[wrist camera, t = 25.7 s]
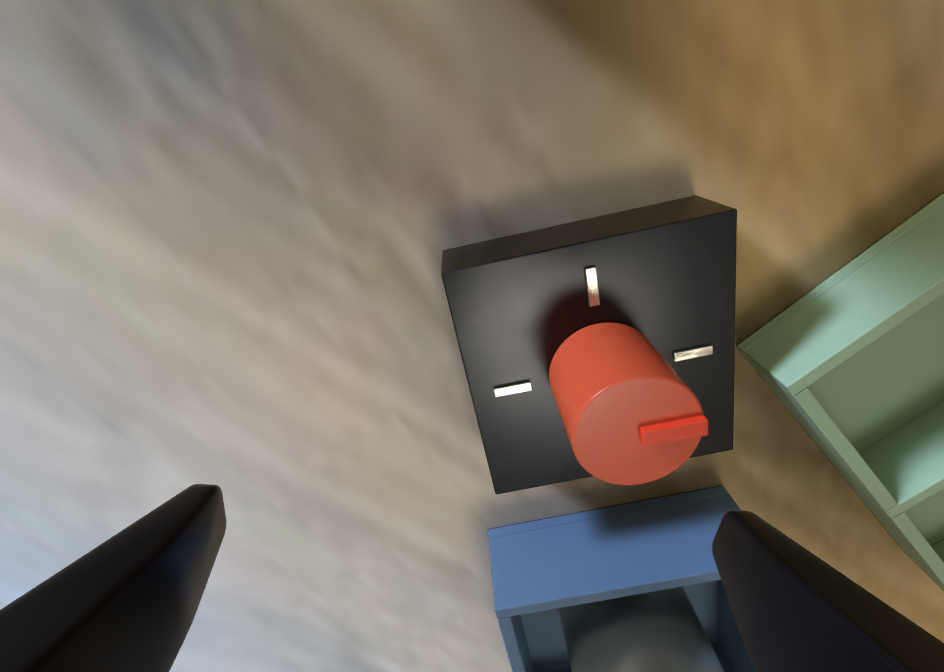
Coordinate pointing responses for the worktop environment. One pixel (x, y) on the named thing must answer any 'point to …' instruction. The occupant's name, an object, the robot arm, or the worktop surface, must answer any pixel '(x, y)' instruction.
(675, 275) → the black square plate
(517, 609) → the basin
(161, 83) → the worktop surface
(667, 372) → the tap knob
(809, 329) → the tray
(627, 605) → the travel mug
